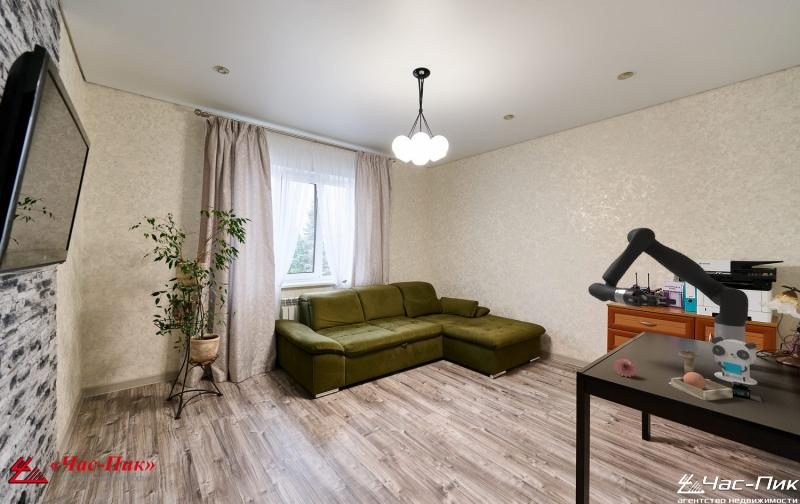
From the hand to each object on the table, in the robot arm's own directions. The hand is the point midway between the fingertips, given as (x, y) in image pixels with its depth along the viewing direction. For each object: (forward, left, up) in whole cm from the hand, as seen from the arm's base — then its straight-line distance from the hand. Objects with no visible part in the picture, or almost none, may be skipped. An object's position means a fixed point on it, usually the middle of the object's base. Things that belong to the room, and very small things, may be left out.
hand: (666, 302), depth 123 cm
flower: (+13, -6, -30) cm, 33 cm away
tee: (-13, -2, -30) cm, 32 cm away
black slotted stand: (-10, +17, -30) cm, 36 cm away
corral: (0, +12, -30) cm, 32 cm away
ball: (0, +10, -27) cm, 28 cm away
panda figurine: (-25, +5, -30) cm, 39 cm away
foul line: (-5, +5, -30) cm, 30 cm away
